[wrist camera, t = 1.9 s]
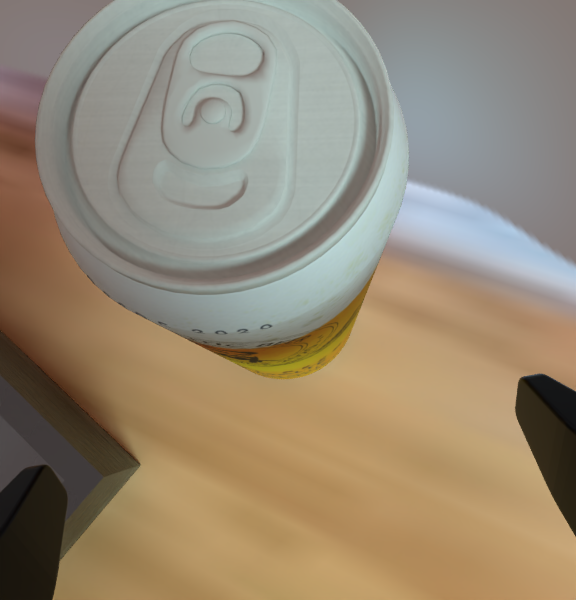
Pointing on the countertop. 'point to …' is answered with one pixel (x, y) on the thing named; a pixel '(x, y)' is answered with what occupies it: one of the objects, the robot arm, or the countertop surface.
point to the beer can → (227, 170)
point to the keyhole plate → (56, 441)
